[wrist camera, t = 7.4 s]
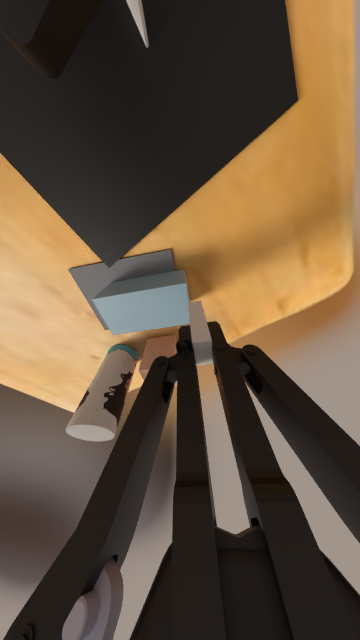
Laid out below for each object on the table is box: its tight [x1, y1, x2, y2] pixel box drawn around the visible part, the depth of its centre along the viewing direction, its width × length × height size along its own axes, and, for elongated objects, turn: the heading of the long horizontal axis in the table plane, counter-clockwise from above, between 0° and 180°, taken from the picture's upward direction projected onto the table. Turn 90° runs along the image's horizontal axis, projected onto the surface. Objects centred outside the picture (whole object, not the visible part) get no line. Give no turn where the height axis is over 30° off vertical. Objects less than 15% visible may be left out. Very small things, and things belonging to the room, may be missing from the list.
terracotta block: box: [139, 335, 177, 387], centre depth 28 cm, size 6×6×8 cm
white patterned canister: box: [66, 345, 138, 441], centre depth 27 cm, size 7×7×15 cm
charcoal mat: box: [68, 249, 175, 330], centre depth 24 cm, size 16×12×1 cm
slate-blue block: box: [92, 269, 190, 335], centre depth 21 cm, size 6×6×12 cm
